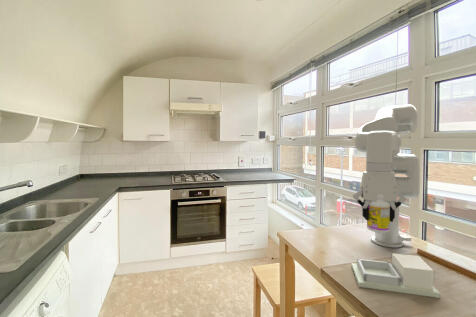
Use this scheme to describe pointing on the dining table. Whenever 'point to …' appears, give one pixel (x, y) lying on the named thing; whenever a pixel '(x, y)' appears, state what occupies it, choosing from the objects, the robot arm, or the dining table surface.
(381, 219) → the supplement bottle
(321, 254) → the dining table surface
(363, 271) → the square frame tray
